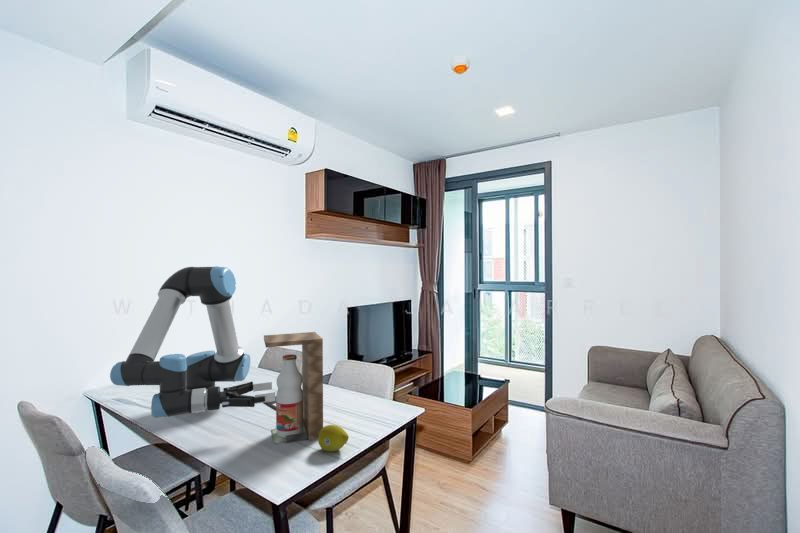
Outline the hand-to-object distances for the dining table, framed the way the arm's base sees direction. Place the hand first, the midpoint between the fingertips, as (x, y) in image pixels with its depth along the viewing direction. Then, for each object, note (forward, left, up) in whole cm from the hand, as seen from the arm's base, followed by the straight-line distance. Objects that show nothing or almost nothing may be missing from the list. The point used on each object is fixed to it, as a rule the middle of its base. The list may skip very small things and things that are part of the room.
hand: (273, 390), depth 134 cm
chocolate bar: (-4, +33, -17) cm, 38 cm away
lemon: (+22, -14, -16) cm, 30 cm away
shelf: (+6, +1, -16) cm, 17 cm away
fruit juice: (+5, +1, -16) cm, 17 cm away
